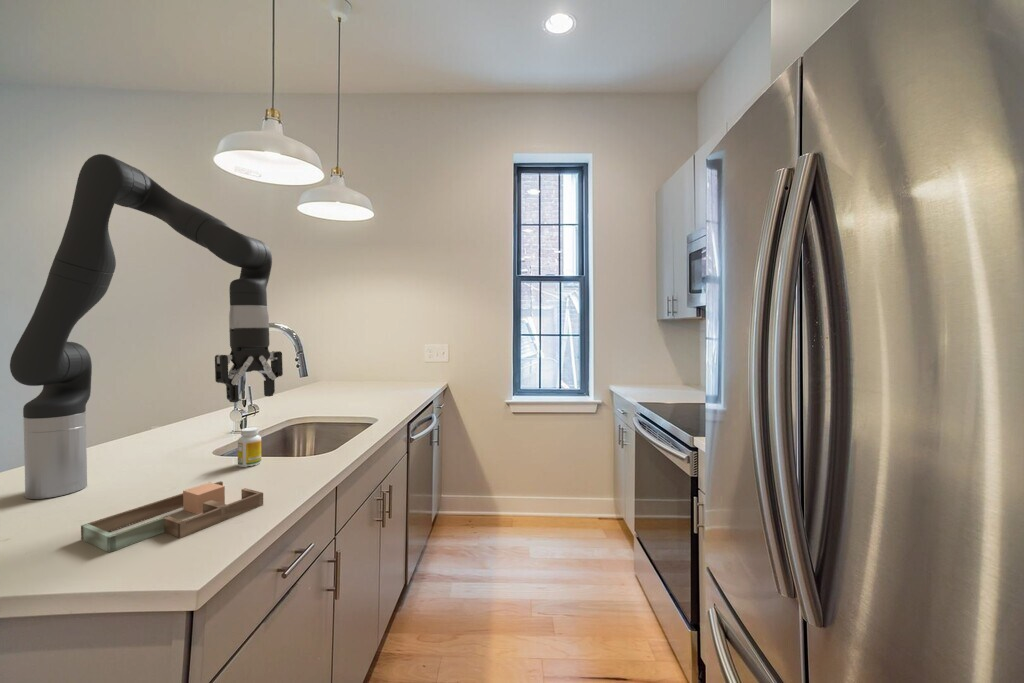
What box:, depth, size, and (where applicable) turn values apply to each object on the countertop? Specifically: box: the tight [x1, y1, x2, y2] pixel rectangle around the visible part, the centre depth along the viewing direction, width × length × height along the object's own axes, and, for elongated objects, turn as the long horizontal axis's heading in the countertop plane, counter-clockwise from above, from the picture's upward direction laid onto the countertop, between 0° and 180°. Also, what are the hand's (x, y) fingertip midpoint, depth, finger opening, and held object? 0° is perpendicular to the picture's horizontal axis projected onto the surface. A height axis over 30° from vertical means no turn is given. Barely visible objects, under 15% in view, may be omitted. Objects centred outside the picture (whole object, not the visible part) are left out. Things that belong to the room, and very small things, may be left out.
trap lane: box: [80, 480, 264, 553], centre depth 78 cm, size 15×23×2 cm, turn 156°
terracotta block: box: [182, 482, 226, 515], centre depth 84 cm, size 5×5×4 cm
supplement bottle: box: [237, 426, 262, 468], centre depth 110 cm, size 5×5×10 cm
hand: (251, 398), depth 92 cm, fingers open, 7 cm apart
